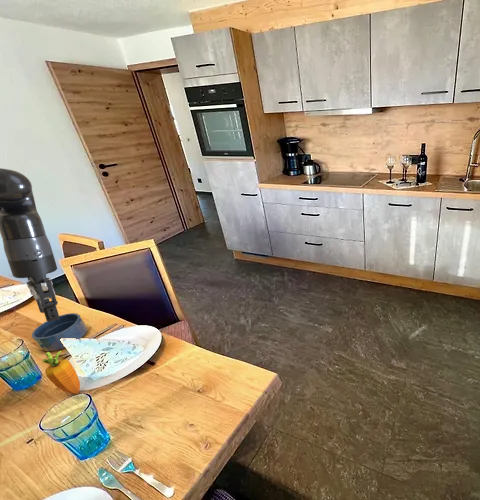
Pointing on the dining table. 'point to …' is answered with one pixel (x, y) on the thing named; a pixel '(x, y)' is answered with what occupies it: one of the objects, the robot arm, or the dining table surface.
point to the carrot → (62, 374)
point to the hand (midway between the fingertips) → (49, 315)
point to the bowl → (59, 331)
